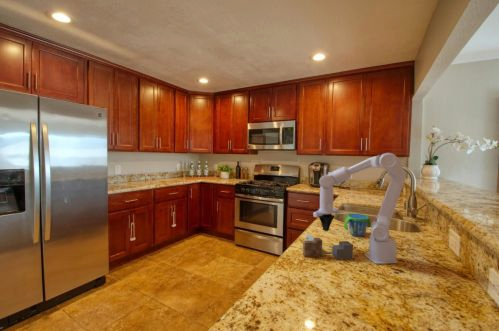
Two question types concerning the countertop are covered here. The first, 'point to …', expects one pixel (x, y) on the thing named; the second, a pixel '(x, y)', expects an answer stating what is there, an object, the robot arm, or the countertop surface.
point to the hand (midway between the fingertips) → (325, 230)
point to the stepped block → (343, 250)
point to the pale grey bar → (309, 238)
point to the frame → (313, 248)
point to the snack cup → (357, 224)
